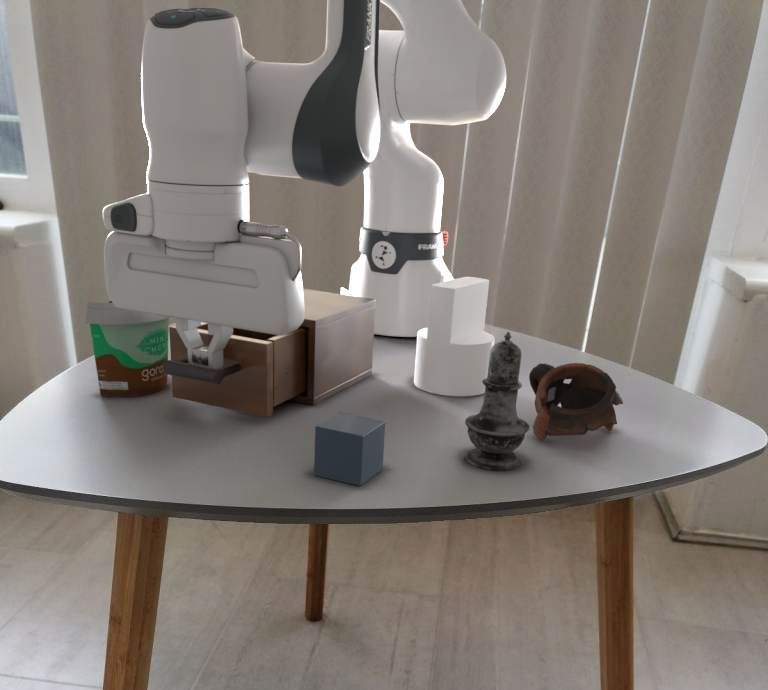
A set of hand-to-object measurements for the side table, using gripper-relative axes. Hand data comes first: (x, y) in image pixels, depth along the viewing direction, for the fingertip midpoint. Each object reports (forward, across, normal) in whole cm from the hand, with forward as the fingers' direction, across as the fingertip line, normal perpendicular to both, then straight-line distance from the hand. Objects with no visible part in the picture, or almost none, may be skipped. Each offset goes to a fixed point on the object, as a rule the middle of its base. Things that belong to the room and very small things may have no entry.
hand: (205, 366), depth 81 cm
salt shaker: (+6, -28, -6) cm, 29 cm away
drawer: (+5, 0, -6) cm, 8 cm away
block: (+6, -18, +4) cm, 19 cm away
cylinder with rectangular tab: (+6, -16, -26) cm, 32 cm away
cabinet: (+6, 0, -18) cm, 18 cm away
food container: (+6, +12, -6) cm, 14 cm away
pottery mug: (+6, -32, -18) cm, 37 cm away
